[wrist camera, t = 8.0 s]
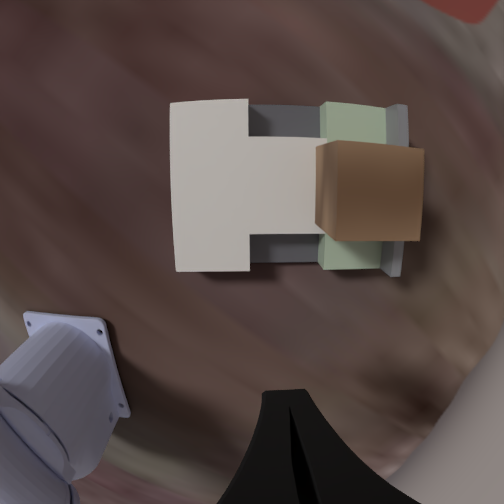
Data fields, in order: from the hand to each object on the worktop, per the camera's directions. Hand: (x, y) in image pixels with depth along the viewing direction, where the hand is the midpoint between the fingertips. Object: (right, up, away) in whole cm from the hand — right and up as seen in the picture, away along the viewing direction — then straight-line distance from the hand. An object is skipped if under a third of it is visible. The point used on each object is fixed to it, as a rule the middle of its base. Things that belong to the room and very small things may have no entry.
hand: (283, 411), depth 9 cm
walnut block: (+4, +9, +6) cm, 11 cm away
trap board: (+1, +9, +8) cm, 12 cm away
